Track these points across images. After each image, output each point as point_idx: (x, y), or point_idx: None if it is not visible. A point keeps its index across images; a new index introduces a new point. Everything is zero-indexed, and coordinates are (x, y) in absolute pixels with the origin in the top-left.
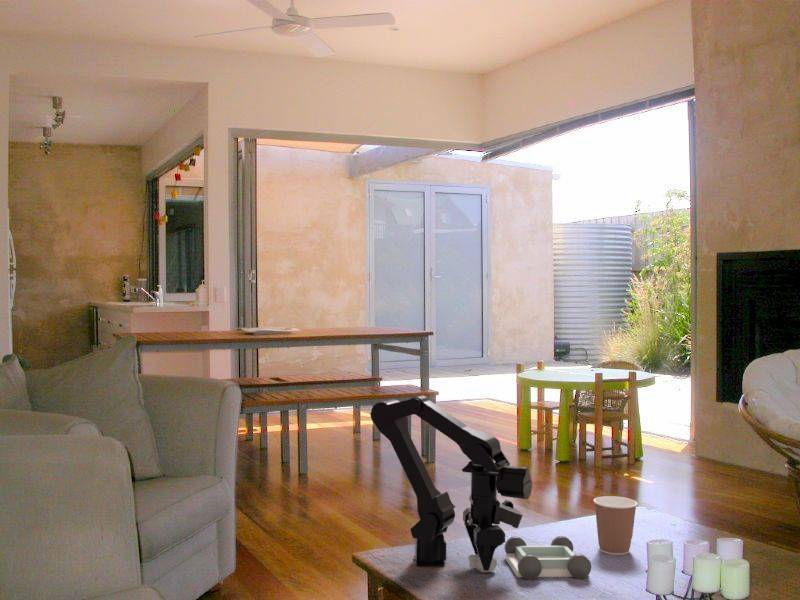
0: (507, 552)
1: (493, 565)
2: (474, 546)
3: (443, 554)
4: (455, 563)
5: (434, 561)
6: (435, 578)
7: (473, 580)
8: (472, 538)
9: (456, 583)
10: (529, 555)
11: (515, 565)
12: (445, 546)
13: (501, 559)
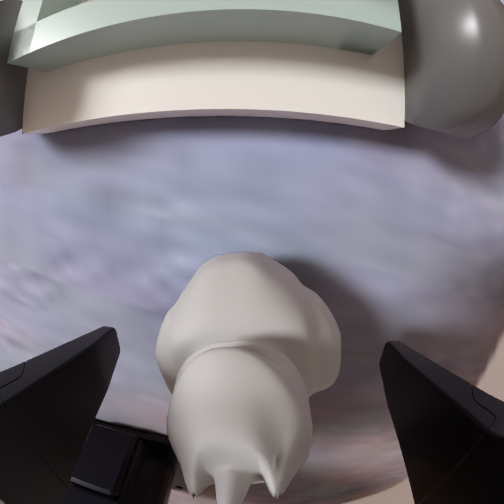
0: (18, 122)
1: (318, 296)
2: (94, 407)
3: (136, 462)
4: (127, 396)
5: (168, 468)
6: (309, 469)
7: (372, 378)
8: (70, 454)
9: (380, 427)
10: (497, 25)
11: (284, 99)
12: (120, 484)
13: (41, 157)
